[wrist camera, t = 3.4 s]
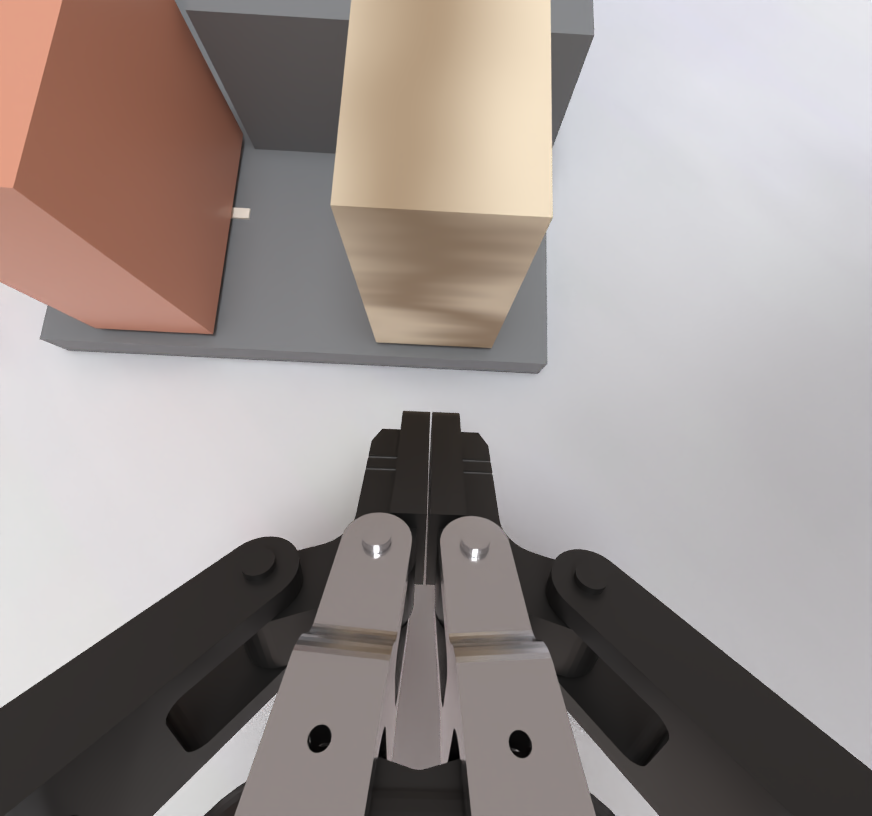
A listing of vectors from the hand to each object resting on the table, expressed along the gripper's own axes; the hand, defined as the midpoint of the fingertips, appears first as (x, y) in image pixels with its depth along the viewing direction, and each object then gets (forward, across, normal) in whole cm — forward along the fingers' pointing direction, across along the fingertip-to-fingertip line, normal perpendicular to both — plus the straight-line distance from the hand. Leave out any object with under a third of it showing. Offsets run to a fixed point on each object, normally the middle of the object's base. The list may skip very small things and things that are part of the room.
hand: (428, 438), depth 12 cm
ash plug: (+11, 0, -3) cm, 11 cm away
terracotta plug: (+11, +12, -3) cm, 17 cm away
